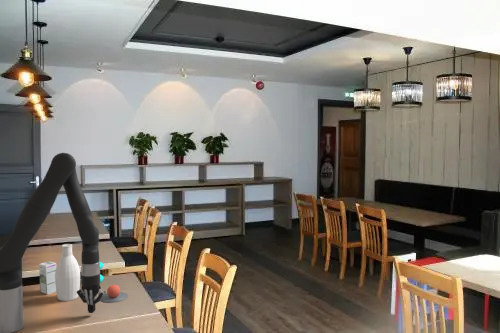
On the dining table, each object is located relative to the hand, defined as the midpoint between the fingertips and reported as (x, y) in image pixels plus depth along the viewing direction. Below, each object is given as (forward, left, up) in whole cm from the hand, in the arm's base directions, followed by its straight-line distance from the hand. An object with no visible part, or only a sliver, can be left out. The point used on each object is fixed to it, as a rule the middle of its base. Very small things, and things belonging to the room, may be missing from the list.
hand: (91, 312), depth 182 cm
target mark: (+13, +16, -2) cm, 21 cm away
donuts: (+10, +44, -2) cm, 45 cm away
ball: (+13, +16, +2) cm, 21 cm away
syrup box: (-12, +40, -2) cm, 42 cm away
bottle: (-5, +27, -2) cm, 27 cm away
